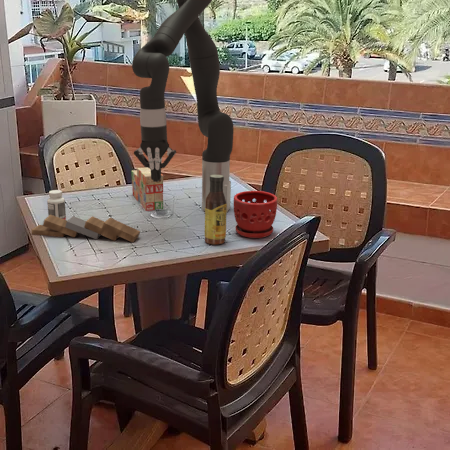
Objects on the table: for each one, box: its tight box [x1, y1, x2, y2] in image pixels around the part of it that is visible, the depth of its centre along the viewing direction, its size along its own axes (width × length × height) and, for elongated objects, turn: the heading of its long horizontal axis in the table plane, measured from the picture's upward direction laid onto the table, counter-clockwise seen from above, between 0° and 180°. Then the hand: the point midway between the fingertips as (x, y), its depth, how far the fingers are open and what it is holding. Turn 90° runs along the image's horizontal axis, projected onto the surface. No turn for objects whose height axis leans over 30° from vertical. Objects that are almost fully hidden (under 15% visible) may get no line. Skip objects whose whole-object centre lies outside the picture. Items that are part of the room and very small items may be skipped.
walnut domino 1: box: [31, 224, 67, 238], centre depth 197 cm, size 2×5×10 cm
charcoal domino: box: [65, 215, 102, 240], centre depth 194 cm, size 2×5×10 cm
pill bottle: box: [46, 189, 67, 220], centre depth 206 cm, size 5×5×10 cm
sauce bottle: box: [203, 175, 228, 246], centre depth 188 cm, size 6×6×20 cm
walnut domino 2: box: [42, 215, 80, 238], centre depth 195 cm, size 2×5×10 cm
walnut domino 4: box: [102, 217, 141, 243], centre depth 192 cm, size 2×5×10 cm
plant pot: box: [233, 190, 278, 239], centre depth 197 cm, size 13×13×12 cm
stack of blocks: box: [130, 166, 164, 212], centre depth 229 cm, size 21×6×12 cm, turn 20°
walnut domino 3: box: [84, 215, 120, 242], centre depth 193 cm, size 2×5×10 cm
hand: (156, 181), depth 195 cm, fingers closed
